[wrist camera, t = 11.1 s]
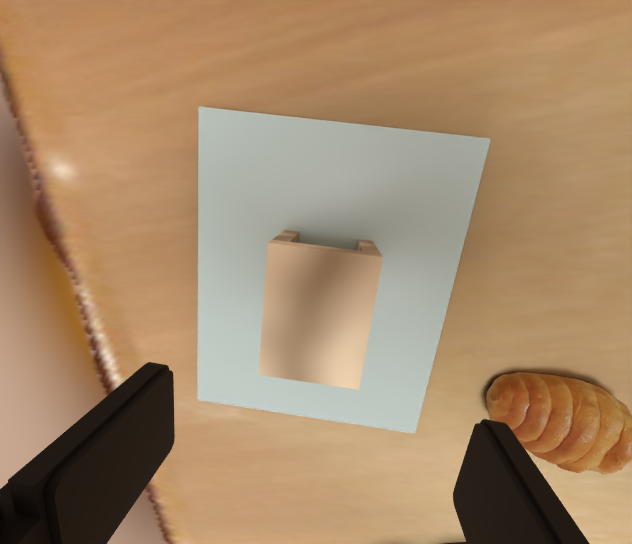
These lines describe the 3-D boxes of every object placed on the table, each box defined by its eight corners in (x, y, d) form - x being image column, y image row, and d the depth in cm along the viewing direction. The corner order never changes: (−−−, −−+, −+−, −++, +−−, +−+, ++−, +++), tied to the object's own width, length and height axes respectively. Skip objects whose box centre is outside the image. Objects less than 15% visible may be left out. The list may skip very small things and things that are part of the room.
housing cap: (372, 241, 20) (383, 257, 15) (354, 346, 22) (359, 389, 17) (284, 230, 20) (267, 242, 15) (276, 335, 22) (258, 374, 17)
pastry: (463, 416, 24) (485, 456, 21) (503, 348, 23) (535, 378, 19) (569, 453, 24) (610, 499, 21) (617, 387, 23) (671, 425, 19)
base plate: (483, 141, 19) (514, 130, 15) (412, 424, 25) (423, 461, 21) (205, 110, 19) (177, 93, 16) (202, 392, 25) (182, 422, 22)
